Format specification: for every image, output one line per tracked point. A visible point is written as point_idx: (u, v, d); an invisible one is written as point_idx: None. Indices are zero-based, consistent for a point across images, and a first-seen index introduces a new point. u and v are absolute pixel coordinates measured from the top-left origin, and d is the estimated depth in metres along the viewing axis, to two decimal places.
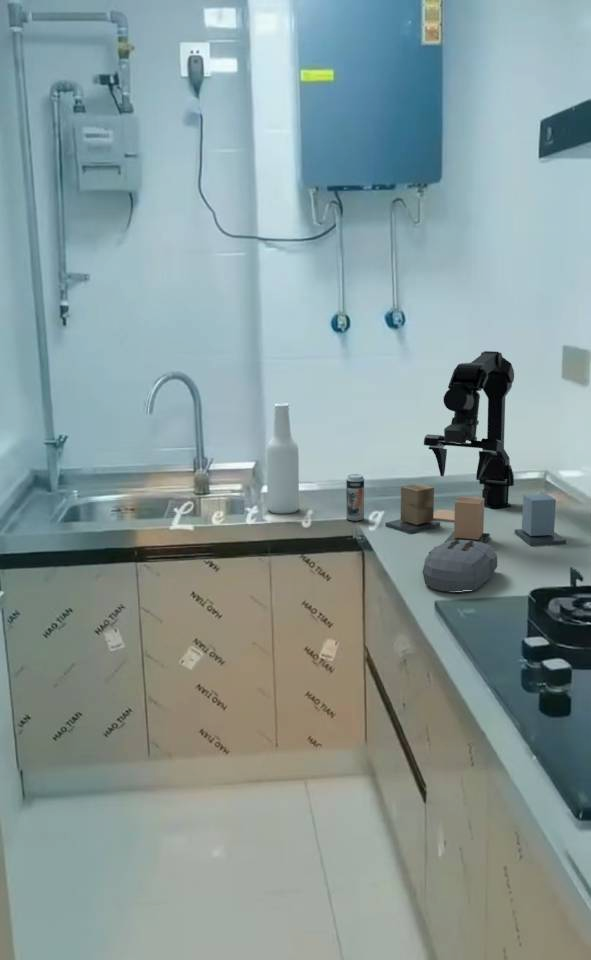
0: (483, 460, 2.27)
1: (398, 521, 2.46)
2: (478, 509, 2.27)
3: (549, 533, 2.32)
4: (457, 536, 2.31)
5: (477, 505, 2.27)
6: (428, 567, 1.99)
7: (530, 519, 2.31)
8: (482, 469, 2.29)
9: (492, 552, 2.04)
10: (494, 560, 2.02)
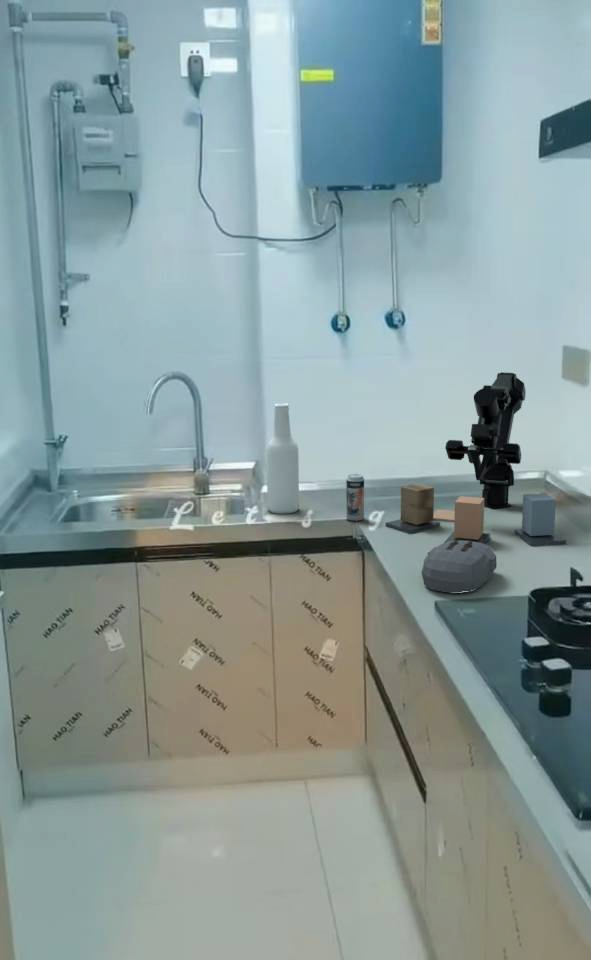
0: (486, 461, 2.39)
1: (398, 521, 2.46)
2: (478, 509, 2.27)
3: (549, 533, 2.32)
4: (457, 536, 2.31)
5: (477, 505, 2.27)
6: (427, 567, 1.98)
7: (530, 519, 2.31)
8: (484, 470, 2.39)
9: (491, 552, 2.04)
10: (493, 561, 2.01)
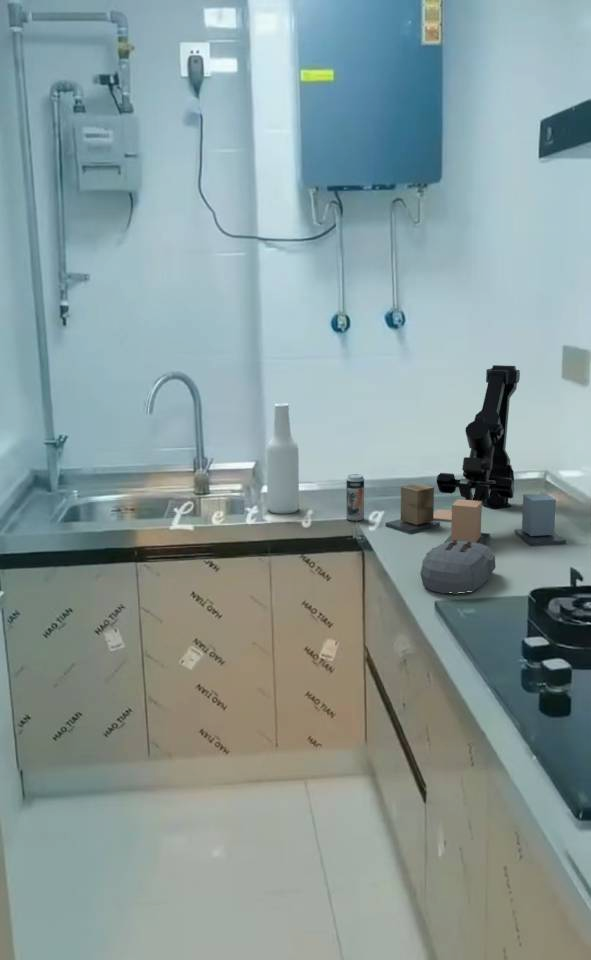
0: (478, 495, 2.32)
1: (398, 521, 2.46)
2: (475, 512, 2.24)
3: (549, 533, 2.32)
4: None
5: (474, 508, 2.24)
6: (426, 568, 1.98)
7: (530, 519, 2.31)
8: None
9: (490, 553, 2.04)
10: (492, 561, 2.01)
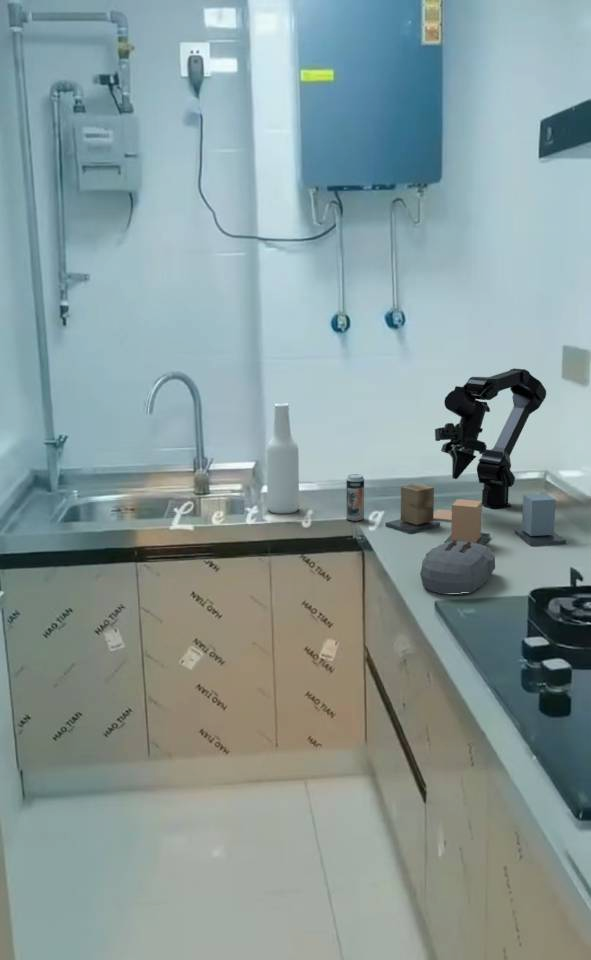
0: (456, 459, 2.47)
1: (398, 521, 2.46)
2: (475, 512, 2.24)
3: (549, 533, 2.32)
4: (454, 540, 2.28)
5: (474, 508, 2.24)
6: (426, 569, 1.97)
7: (530, 519, 2.31)
8: (458, 468, 2.47)
9: (489, 553, 2.03)
10: (492, 562, 2.01)
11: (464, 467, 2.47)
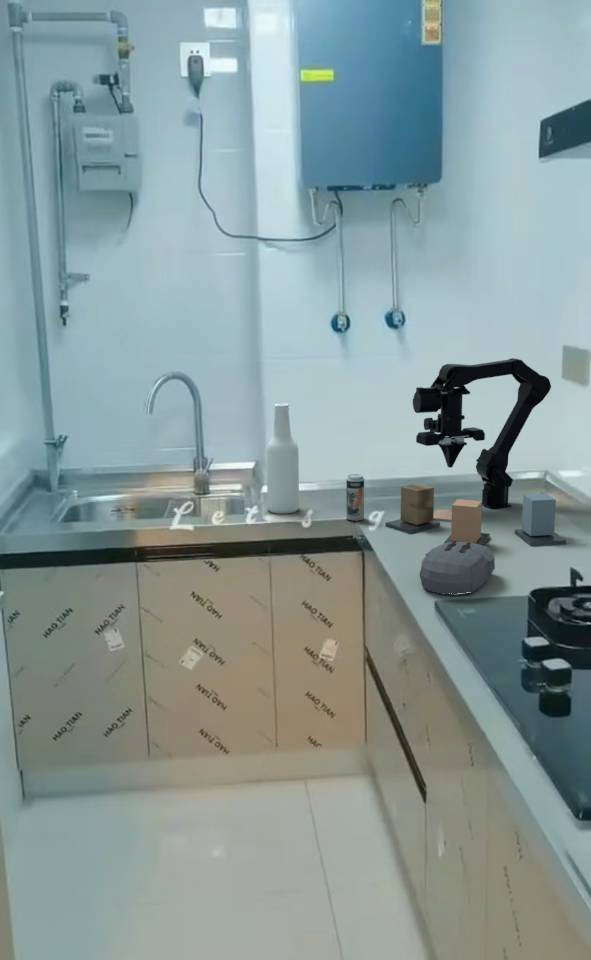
0: None
1: (398, 521, 2.46)
2: (475, 512, 2.24)
3: (549, 533, 2.32)
4: (454, 540, 2.28)
5: (474, 508, 2.24)
6: (426, 569, 1.97)
7: (530, 519, 2.31)
8: (446, 458, 2.57)
9: (489, 554, 2.03)
10: (491, 562, 2.00)
11: (448, 456, 2.56)
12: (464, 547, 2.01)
